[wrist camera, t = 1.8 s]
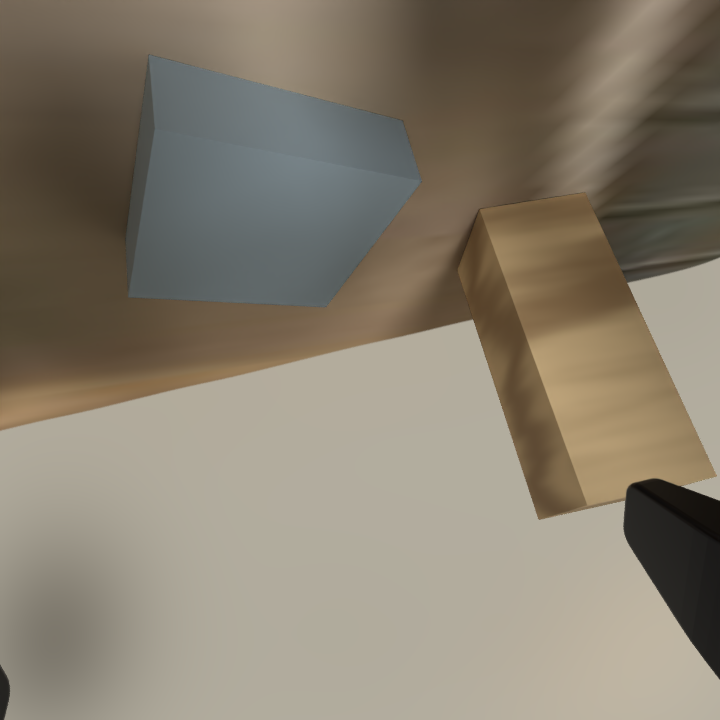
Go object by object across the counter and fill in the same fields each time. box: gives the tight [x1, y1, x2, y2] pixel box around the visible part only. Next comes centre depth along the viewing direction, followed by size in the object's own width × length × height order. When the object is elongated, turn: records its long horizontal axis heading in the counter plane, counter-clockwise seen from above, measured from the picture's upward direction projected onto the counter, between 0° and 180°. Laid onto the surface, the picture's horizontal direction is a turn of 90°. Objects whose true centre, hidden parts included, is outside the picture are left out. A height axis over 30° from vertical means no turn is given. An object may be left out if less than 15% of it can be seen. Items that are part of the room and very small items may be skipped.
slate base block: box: [125, 55, 422, 307], centre depth 19 cm, size 8×8×3 cm
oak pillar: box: [457, 193, 717, 520], centre depth 23 cm, size 5×5×13 cm
